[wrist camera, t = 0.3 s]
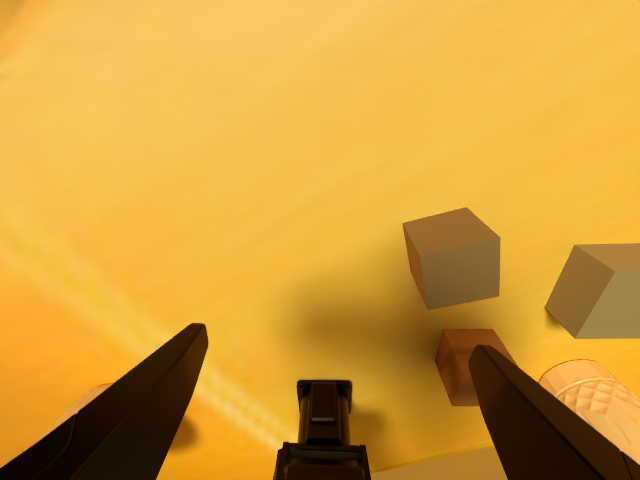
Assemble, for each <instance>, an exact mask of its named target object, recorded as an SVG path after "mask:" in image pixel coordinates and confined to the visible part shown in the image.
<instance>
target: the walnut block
mask: <svg viewBox="0 0 640 480" xmlns="http://www.w3.org/2000/svg"><path fill="white" fill-rule="evenodd" d="M477 344H486V345H491V346H493V347H494V348H495V349H496V350H498V351H499V352H500V353H501V354H503V355H504V356H505V357H506V358H508V359H509V360H510V361H511V362H513V363H514V364H515V365H516V366H517V364H516V363H515V361H514V360H513V358H512V357H511V355H510V354H509V352H508V351H507V349H506V348H505V346H504V345H503V344H502V342H501V341H500V339H499V338H498V336H497V335H496V333H495V332H494V330H493V329H465V330H443V333H442V336H441V340H440V344H439V348H438V351H437V355H436V359H435V363H436V365H437V368H438V371H439V373H440V376H441V378H442V381H443V384H444V386H445V389H446V391H447V394H448V397H449V399H450V402H451V404H452V406H480V405H479V402H478V398H477V395H476V391H475V388H474V385H473V381H472V378H471V374H470V371H469V367H468V360H469V358H470V356H471V354H472V352H473V350H474V348H475V346H476V345H477Z"/></svg>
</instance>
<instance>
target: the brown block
mask: <svg viewBox="0 0 640 480" xmlns="http://www.w3.org/2000/svg"><path fill="white" fill-rule="evenodd" d="M403 229H404V235H405V240H406V246H407V252H408V258H409V263H410V269H411V273H412V275H413V277H414V279H415V282H416V284H417V286H418V289H419V291H420V293H421V295H422V298H423V300H424V302H425V304H426V307H427V309H428V310H431V309H436V308H441V307H446V306H451V305H456V304H462V303H467V302H472V301H477V300H482V299H488V298H493V297H498V296H499V280H500V237H499V236H498V235H497V234H496V233H495V232H493V231H492V230H491V229H490V228H489V227H488V226H487V225H486V224H484V223H483V222H482V221H481V220H480V219H479V218H478V217H477V216H475V215H474V214H473V213H472V212H471V211H470V210H469V209H468V208H467V207H466V208H462V209H458V210H454V211H450V212H446V213H442V214H438V215H434V216H430V217H425V218H421V219H417V220H413V221H409V222H405V223H403Z"/></svg>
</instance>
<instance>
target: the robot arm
mask: <svg viewBox="0 0 640 480" xmlns="http://www.w3.org/2000/svg"><path fill="white" fill-rule="evenodd" d="M207 348H208V336H207V330H206V326H205V324H203V323H192V324H190V325H188V326H187V327H186V328H184V329H183V330H182V331H181V332H179V333H178V334H177V335H175V336H174V337H173V338H172V339H170V340H169V341H168V342H166V343H165V344H164V345H163V346H161V347H160V348H159V349H157V350H156V351H155V352H153V353H152V354H151V355H150V356H148V357H147V358H146V359H144V360H143V361H142V362H141V363H139V364H138V365H137V366H135V367H134V368H133V369H132V370H130V371H129V372H128V373H126V374H125V375H124V376H123V377H121V378H120V379H119V380H117V381H116V382H115V383H113V384H112V385H111V386H110V387H108V388H107V389H106V390H104V391H103V392H102V393H101V394H99V395H98V396H97V397H95V398H94V399H93V400H92V401H90V402H89V403H88V404H86V405H85V406H84V407H83V408H81V409H80V410H79V411H78V413H75V414H73V415H72V416H71V417H69V418H68V419H67V420H66V421H64V422H63V423H62V424H60V425H59V426H58V427H56V428H55V429H54V430H52V431H51V432H50V433H48V434H47V435H46V436H44V437H43V438H42V439H40V440H39V441H38V442H36V443H35V444H34V445H32V446H31V447H30V448H28V449H27V450H25V451H24V452H23V453H21V454H20V455H18V456H17V457H15V458H14V459H13V460H11V461H10V462H8V463H7V464H6V465H4V466H3V467H1V468H0V480H156V478H157V476H158V473H159V471H160V469H161V467H162V464H163V462H164V460H165V457H166V455H167V453H168V450H169V448H170V446H171V444H172V441H173V439H174V437H175V434H176V432H177V430H178V427H179V425H180V423H181V421H182V418H183V416H184V414H185V411H186V409H187V407H188V405H189V402H190V400H191V397H192V395H193V392H194V389H195V386H196V383H197V380H198V376H199V373H200V370H201V367H202V364H203V361H204V358H205V354H206V351H207ZM468 367H469V371H470V374H471V378H472V381H473V385H474V388H475V391H476V395H477V398H478V402H479V405H480V409H481V412H482V415H483V417H484V420H485V423H486V425H487V428H488V430H489V433H490V436H491V438H492V441H493V443H494V446H495V448H496V451H497V453H498V456H499V458H500V461H501V463H502V465H503V468H504V471H505V473H506V476H507V478H508V480H640V465H639V464H638V463H637V462H636V461H634V460H633V459H632V458H631V457H629V456H628V455H627V454H626V453H624V452H623V451H620V449H619V448H618V447H617V446H616V445H614V444H613V443H612V442H611V441H609V440H608V439H607V438H606V437H604V436H603V435H602V434H601V433H599V432H598V431H597V430H596V429H595V428H593V427H592V426H591V425H590V424H588V423H587V422H586V421H585V420H583V419H582V418H581V417H580V416H578V415H577V414H576V413H575V412H573V411H572V410H571V409H570V408H568V407H567V406H566V405H565V404H563V403H562V402H561V401H560V400H559V399H557V398H556V397H555V396H554V395H552V394H551V393H550V392H549V391H547V390H546V389H545V388H544V387H542V386H541V385H540V384H539V383H537V382H536V381H535V380H534V379H532V378H531V377H530V376H529V375H527V374H526V373H525V372H524V371H523V370H521V369H520V368H519V367H518V366H516V365H515V364H514V363H513V362H511V361H510V360H509V359H508V358H506V357H505V356H504V355H503V354H501V353H500V352H499V351H498V350H496V349H495V348H494V347H493V346H491V345H486V344H477V345H476V346H475V348H474V350H473V352H472V354H471V356H470V358H469V360H468ZM351 387H352V386H351V382H350V381H298V382H297V394H298V402H299V411H300V422H299V433H298V443H289V442H283V447H282V449H280V450H278V454H277V461H276V467H275V472H274V476H273V480H371V477H370V470H369V464H368V458H367V452H366V446H365V445H360V446H356V445H350V430H349V414H350V412H351Z"/></svg>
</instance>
